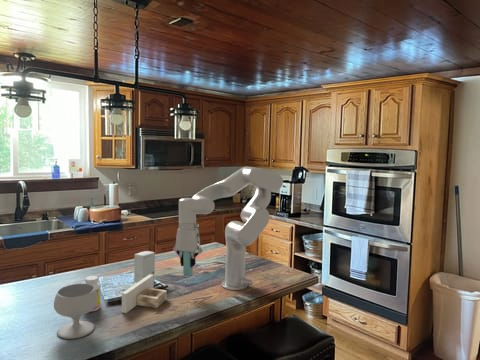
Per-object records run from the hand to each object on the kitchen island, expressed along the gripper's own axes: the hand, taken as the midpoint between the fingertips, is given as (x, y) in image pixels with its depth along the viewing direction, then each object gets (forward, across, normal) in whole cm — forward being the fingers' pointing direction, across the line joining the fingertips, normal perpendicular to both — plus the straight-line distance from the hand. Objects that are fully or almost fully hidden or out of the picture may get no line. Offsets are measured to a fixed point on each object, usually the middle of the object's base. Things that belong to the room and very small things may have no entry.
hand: (187, 265), depth 158 cm
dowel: (+4, 0, 0) cm, 4 cm away
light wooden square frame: (+13, +11, +13) cm, 21 cm away
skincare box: (+13, +25, -5) cm, 29 cm away
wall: (+13, +17, +14) cm, 25 cm away
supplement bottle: (+12, +31, +26) cm, 42 cm away
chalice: (+12, +25, +42) cm, 50 cm away
